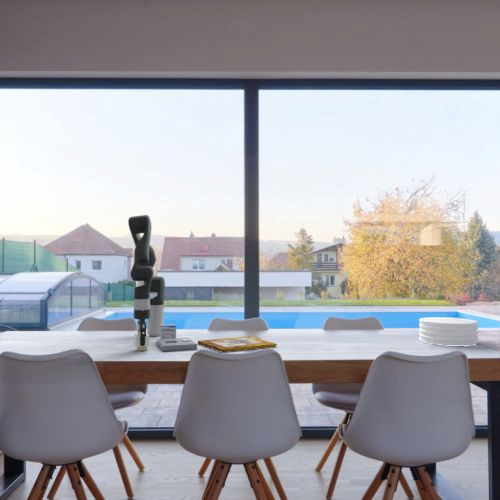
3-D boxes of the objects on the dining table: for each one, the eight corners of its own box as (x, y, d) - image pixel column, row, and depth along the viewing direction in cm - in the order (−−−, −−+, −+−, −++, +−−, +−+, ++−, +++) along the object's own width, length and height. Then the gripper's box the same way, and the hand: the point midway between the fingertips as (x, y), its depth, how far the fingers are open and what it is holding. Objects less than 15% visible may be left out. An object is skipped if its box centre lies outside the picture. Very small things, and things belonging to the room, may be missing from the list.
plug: (134, 349, 221) (134, 334, 222) (147, 348, 224) (147, 333, 224) (135, 351, 216) (135, 336, 216) (149, 350, 218) (149, 335, 219)
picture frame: (197, 340, 237) (249, 336, 252) (197, 345, 237) (249, 340, 252) (221, 349, 214) (276, 343, 228) (221, 354, 214) (276, 348, 228)
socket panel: (156, 344, 235) (156, 337, 235) (188, 342, 241) (188, 336, 241) (163, 351, 216) (163, 344, 216) (197, 349, 222) (197, 342, 222)
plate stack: (424, 336, 262) (424, 316, 262) (480, 340, 247) (480, 319, 248) (414, 344, 238) (414, 321, 238) (475, 349, 223) (474, 325, 224)
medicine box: (160, 342, 241) (160, 325, 241) (160, 341, 245) (160, 324, 245) (176, 341, 243) (176, 325, 243) (175, 340, 247) (175, 324, 248)
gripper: (132, 307, 226) (131, 342, 225) (135, 310, 212) (135, 347, 212) (147, 306, 228) (147, 341, 228) (152, 309, 215) (151, 346, 214)
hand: (141, 344), depth 220 cm, fingers closed on plug, 5 cm apart
